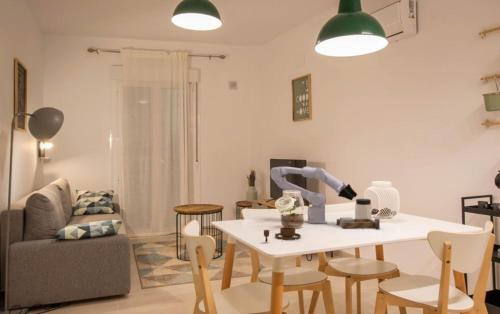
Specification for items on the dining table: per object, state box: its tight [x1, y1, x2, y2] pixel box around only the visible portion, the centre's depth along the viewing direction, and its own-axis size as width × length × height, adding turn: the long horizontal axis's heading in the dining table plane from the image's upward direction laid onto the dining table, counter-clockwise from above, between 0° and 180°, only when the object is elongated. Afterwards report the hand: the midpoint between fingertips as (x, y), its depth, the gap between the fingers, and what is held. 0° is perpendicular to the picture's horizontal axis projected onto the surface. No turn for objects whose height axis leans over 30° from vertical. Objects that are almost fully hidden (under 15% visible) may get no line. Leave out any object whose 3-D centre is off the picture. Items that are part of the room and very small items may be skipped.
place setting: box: [263, 226, 302, 242], centre depth 191 cm, size 18×20×6 cm
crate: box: [339, 216, 355, 228], centre depth 219 cm, size 6×6×4 cm
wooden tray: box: [336, 218, 381, 230], centre depth 218 cm, size 19×14×5 cm
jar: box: [354, 198, 372, 220], centre depth 238 cm, size 9×8×12 cm
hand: (354, 197), depth 223 cm, fingers open, 7 cm apart
